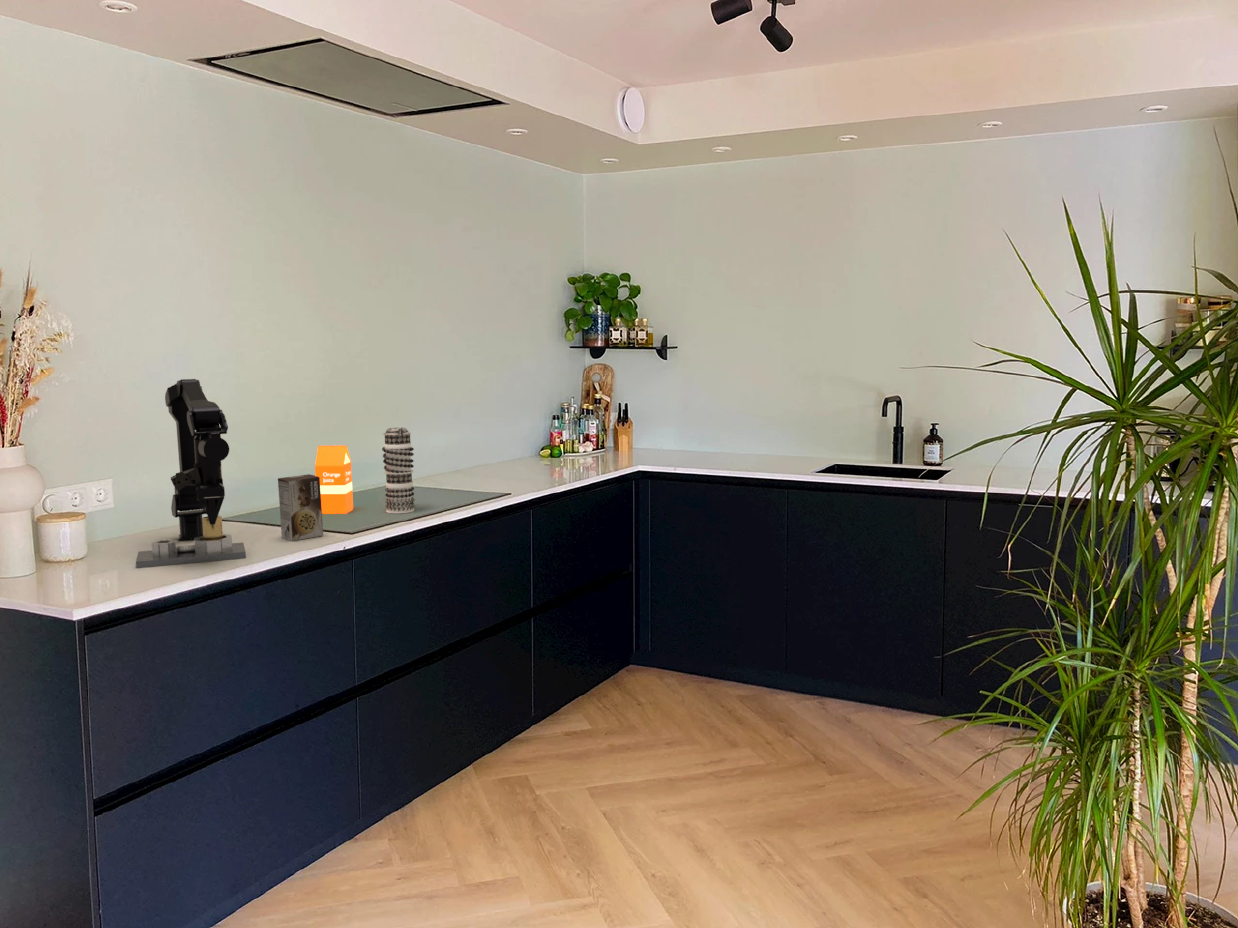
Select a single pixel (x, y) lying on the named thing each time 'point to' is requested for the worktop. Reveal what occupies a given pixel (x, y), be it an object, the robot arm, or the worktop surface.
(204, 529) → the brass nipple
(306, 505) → the coffee box
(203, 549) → the manifold
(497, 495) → the worktop surface
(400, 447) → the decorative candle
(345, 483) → the orange juice
